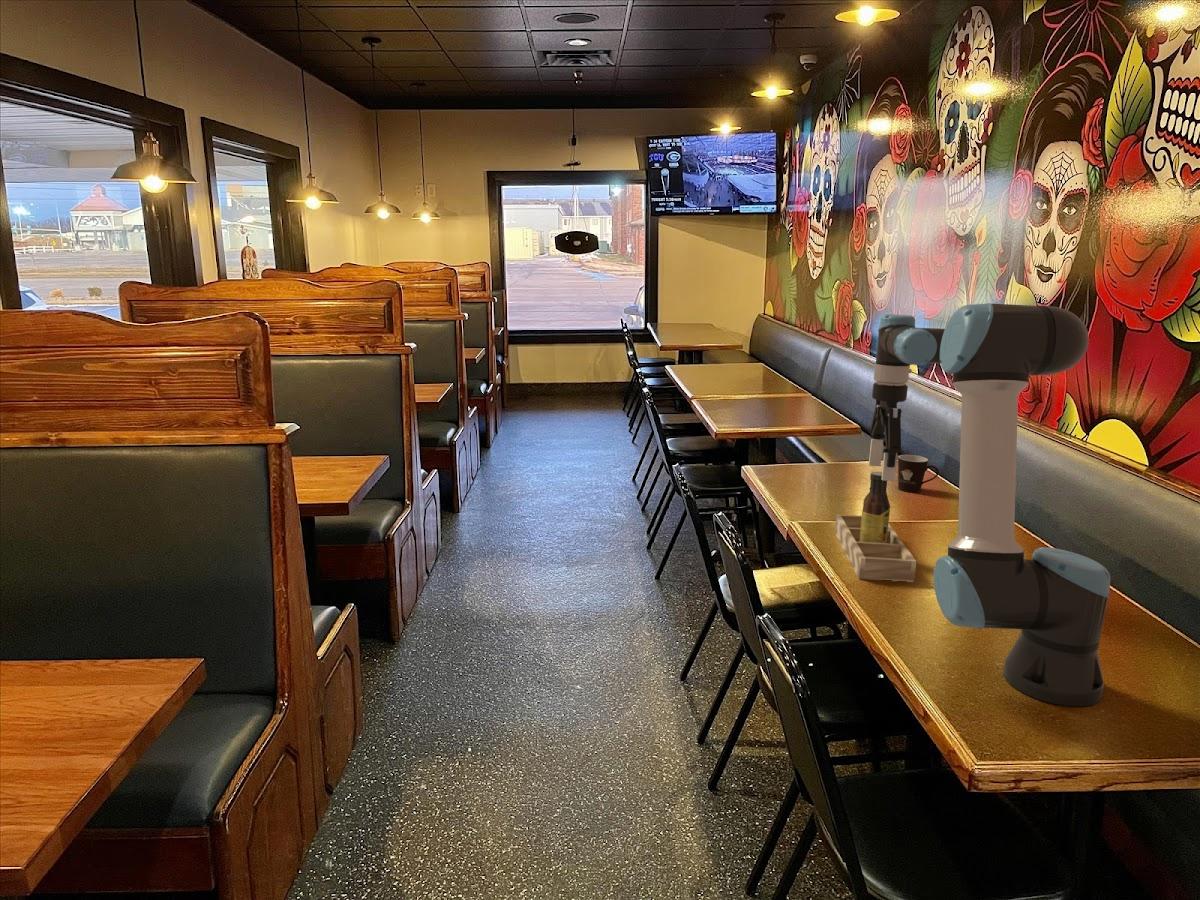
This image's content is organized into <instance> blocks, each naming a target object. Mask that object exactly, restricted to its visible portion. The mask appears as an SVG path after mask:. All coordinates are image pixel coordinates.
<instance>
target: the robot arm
mask: <svg viewBox="0 0 1200 900" xmlns="http://www.w3.org/2000/svg"><path fill="white" fill-rule="evenodd" d="M877 332H878V336H877V345H876V354H875V355H876V357H875V363H874V372H873V373H874V374H873V380H874V381H875V382H874V383H873V385H872V393H871V397H872V399H873V400H875V408H874V412H873V415H872V420H871V424H870V428H869V434H870V438H871V440H870V449H869V456H868V457H869V458H868V466H871V467H881V465H882V469H881V470H882V471H881V472H882V479H881V480H884V481H887V482H895V478H896V472H897V471H896V470H897V464H898V455H899V453H901V451H902V438H901V437H902V431H901V430H902V428H901V427H902V426H901V425H902V424H901V422H902V421H901V419H902V408H898V403H903V402H906V401H907V399H908V398H907V397H908V390H909V389H908V387H909V386H908V385H907V383H908V382H909V379H910V376H909V375H910V374H912V373H913V370H912V369H911V368H910V367H911V365H913V366H922V365H925V364H931V365H932V364H937V365H938V364H939V365H940V367H941V369H942V370H943V371H944V372H945V373H947V374H949V375H952V386H953V388H955V390H957V391H958V392H959V394H960V395H961V410H960V412H961V417H960V418H961V419H960V420H961V421H960V446H959V447H960V449H959V451H960V452H959V456H960V457H959V482H958V483H959V484H958V485H959V486H958V491H959V493H958V517H957V518H958V521H957V523H958V524H957V525H958V526H957V536H956V537H955V538H954V539H953V540H952V541H950V542H949V543H948V544H947V555H943V556H941V557H939V558H937V560H936V562H935V563H934V565H935V567H934V568H933V573H932V574H933V587H934V592H935V593H934V594H935V597H936V598H935V599H936V600H937V603H938V606H939V609H940V611H941V614H943V616H944V617H945V619H946V620H947V621H948V622H949V623H951V624H953V625H954V626H957V627H961V628H962V627H963V628H964V627H965V628H973V629H977V630H982V629H996V630H997V629H1000V630H1001V629H1003V630H1004V629H1005V630H1020V634H1019V636H1018V637H1017V639H1016V641H1015V642H1014V644H1013V646H1012V647H1011V649H1010V651H1009V653H1008V655H1007V656H1006V657H1005V660H1004V665H1003V670H1002V675H1003V677H1004V679H1005V680H1006V682H1007V683H1008V684H1009V685H1011V686H1012V687H1013V688H1014V689H1016V690H1017V691H1019V692H1021V693H1023V694H1025V695H1028V696H1029V697H1032V698H1034V699H1036V700H1040V701H1043V702H1046V703H1050V704H1055V705H1059V706H1066V707H1088V706H1092V705H1094V704H1097V703H1099V702H1100V701H1101V699H1102V696H1103V692H1104V687H1105V686H1104V685H1105V684H1104V677H1103V673H1102V668H1101V662H1100V658H1099V657H1100V656H1099V645H1100V640H1101V637H1102V630H1103V626H1104V621H1105V620H1104V619H1105V617H1106V616H1105V614H1106V609H1107V604H1108V600H1109V598H1110V595H1111V593H1110V589H1111V575H1110V572H1109V571H1108V568H1106V567H1105V566H1104V565H1102V564H1101V563H1100V562H1098V561H1096V560H1094V559H1092V558H1089V557H1088V556H1085V555H1082V554H1079V553H1076V552H1072V551H1069V550H1066V549H1061V548H1055V547H1046V546H1045V547H1039V548H1038V547H1037V548H1036V549H1034V552H1033V553H1032V554H1031V555H1032V556H1031V557H1032V559H1025V557H1024V556H1025V550H1024V548H1023V547H1022V545H1020V543H1018V542H1017V541H1016V539H1015V520H1016V519H1015V518H1016V517H1015V515H1016V481H1017V452H1018V451H1017V449H1018V448H1017V445H1018V444H1017V443H1018V441H1017V440H1018V411H1019V410H1018V407H1019V404H1018V403H1019V395H1020V393H1021V392H1022V391H1023V390H1025V389H1026V388H1027V387H1028V386H1029V383H1030V381H1029V380H1030V376H1050V375H1055V374H1060V373H1063V372H1065V371H1068V370H1070V369H1072V368H1074V367H1075V366H1076V365H1077V364H1079V362H1080V361H1081V360H1083V358H1084V356H1085V355H1086V353H1087V350H1088V347H1089V343H1090V341H1089V332H1088V328H1087V327H1086V325H1085V323H1084V322H1083V321H1082V320H1081V319H1080V317H1079V316H1078V315H1076V314H1075V313H1073V312H1071V311H1069V310H1068V309H1065V308H1062V307H1058V306H1054V305H1053V306H1051V305H1026V304H1025V305H1024V304H1011V303H1010V304H1008V303H1007V304H1006V303H990V302H987V303H977V304H965V305H961V306H960V307H959V308H957V309H956V310H955V311H954V312H953V314H951V316H950V317H949V319H948V322H947V323H946V326H945V328H938V327H937V328H935V327H916V319H915V317H914V316H913V315H908V314H896V313H895V314H889V313H888V314H884V315H882V316H881V317H880V320H879V327H878V329H877ZM884 440H885V448H884ZM882 455H883V457H882ZM882 458H883V461H882ZM882 462H883V463H882Z"/></svg>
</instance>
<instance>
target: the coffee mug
mask: <svg viewBox="0 0 1200 900" xmlns="http://www.w3.org/2000/svg"><path fill="white" fill-rule="evenodd" d="M928 462H929V458H927V457H925V456H921V455H917V454H916V455H915V454H900V455H897V477H898V478H897V481H898V483H897V484H898V486H897V487H898V490H899V491H901V492H904V493H910V494H911V493H912V494H913V493H914V494H917V493H921V489H922V485H924V484H927V483H928V482H931V481H933V480H935V479H936V478H937V477H938V476H939V473H940V472H939V471H940V470H939V469H938V467H936V466H934V465H928ZM929 468H932V469H934V470H935V471H936V474H935V476H934V477H932V478H929V479H926V480H924V478H925V473H926V472H927V470H928V469H929Z"/></svg>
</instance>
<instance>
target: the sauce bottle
mask: <svg viewBox="0 0 1200 900" xmlns="http://www.w3.org/2000/svg"><path fill="white" fill-rule="evenodd" d="M881 479H882V471H872V472H870V485H869V486H870V487H869V492H868V493H867V495H866V496H864V499H863V503H862V504H863V505H862V511H861V516H862V518H861V528H860V538H859V542H876V543H886V542H887V533H888V524H890V523H889V522H890V514H891V504H890V501H889V497H888V492H887V486H888V481H884V480H881Z"/></svg>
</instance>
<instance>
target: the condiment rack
mask: <svg viewBox="0 0 1200 900" xmlns="http://www.w3.org/2000/svg"><path fill="white" fill-rule="evenodd" d="M835 515H836V516H835V524H834V534H835V536H836V538H837V540H838V542H839V544H840V546H841V548H842V549H843V552H844V553H845V555H846V557H847V559H848V561H849V563H850V565H851V567H852V569H853V571H854V573H855V575H856V576H857V579H858V580H866V579H867V580H869V581H881V580H892V581H891V582H897V581H907V582H906V583H913V582H914V583H915V575H916V571H917V570H916V569H917V560H916V559H915V557H914V556H913V554H912V553H911V552H910V550H909V549H908V548H907V547H906V545H905V543H904V542H903V541H902V539H901V538H900V537H899V535H898V534H897V533H896V531H895V530H894V528H893V527H892V526H891V524H890V523H889V524H888V533H887V542H886V543H876V542H859V538H860V528H861V518H862V515H856V514H855V515H854V514H853V515H852V514H835Z"/></svg>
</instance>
